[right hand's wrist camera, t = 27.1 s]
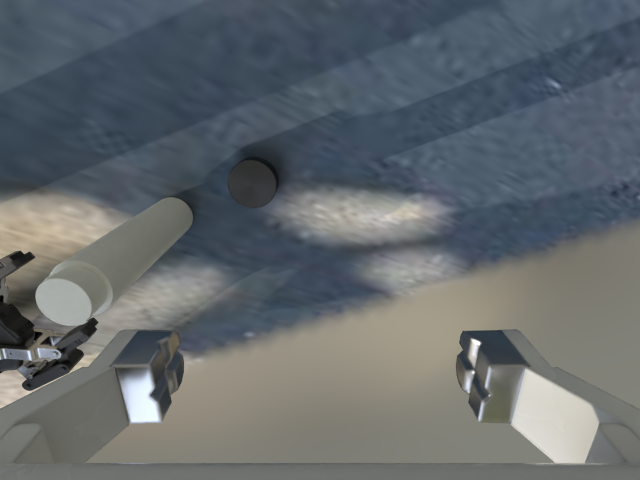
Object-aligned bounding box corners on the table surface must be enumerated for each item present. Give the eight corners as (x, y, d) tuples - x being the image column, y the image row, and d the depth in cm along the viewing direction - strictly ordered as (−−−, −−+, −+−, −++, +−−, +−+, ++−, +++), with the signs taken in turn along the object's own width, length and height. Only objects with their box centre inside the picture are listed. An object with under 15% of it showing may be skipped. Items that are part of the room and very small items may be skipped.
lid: (282, 199, 39) (280, 204, 37) (237, 205, 39) (233, 211, 37) (273, 154, 37) (271, 156, 35) (227, 160, 38) (222, 163, 36)
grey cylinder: (146, 208, 39) (13, 290, 22) (178, 190, 39) (66, 261, 22) (169, 240, 41) (61, 340, 24) (200, 223, 40) (111, 315, 23)
